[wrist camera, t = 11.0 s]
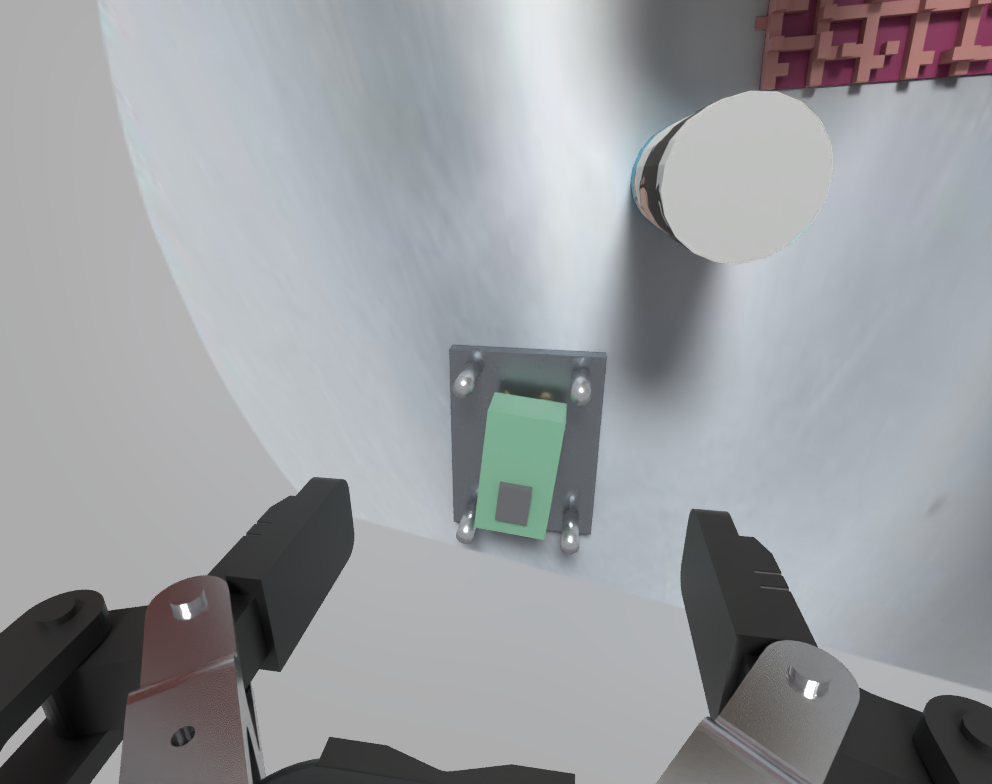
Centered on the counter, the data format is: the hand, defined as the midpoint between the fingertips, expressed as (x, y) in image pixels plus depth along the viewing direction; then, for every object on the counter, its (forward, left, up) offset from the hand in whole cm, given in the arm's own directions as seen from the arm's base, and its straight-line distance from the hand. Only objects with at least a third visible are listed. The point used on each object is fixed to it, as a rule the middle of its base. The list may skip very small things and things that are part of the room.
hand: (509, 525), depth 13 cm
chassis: (+2, +13, -30) cm, 33 cm away
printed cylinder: (-8, -7, -30) cm, 32 cm away
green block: (+2, +13, -27) cm, 30 cm away
